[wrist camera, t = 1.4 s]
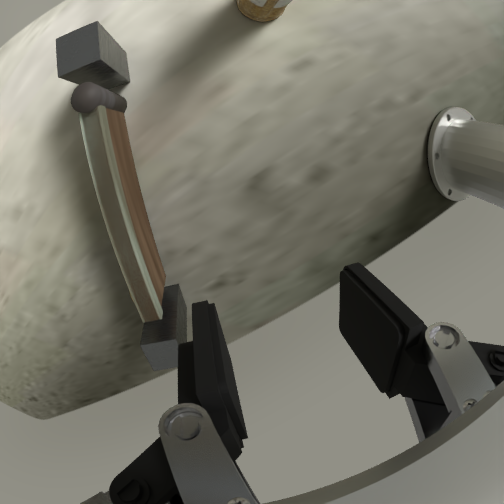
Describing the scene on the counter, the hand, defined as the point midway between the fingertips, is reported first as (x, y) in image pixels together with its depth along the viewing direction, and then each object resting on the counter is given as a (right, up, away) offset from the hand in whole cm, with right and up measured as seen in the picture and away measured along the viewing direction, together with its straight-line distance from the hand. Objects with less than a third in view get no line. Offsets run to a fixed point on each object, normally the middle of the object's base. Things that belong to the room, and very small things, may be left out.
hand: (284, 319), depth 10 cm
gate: (-12, +8, +13) cm, 19 cm away
